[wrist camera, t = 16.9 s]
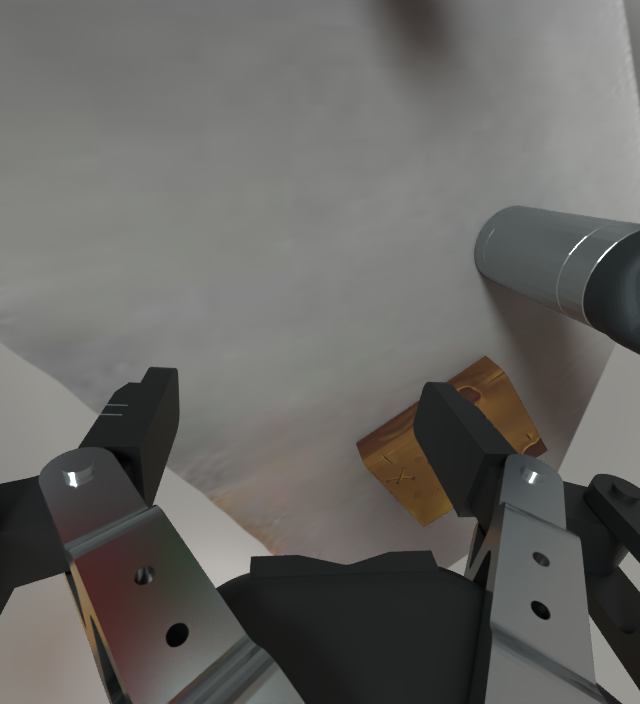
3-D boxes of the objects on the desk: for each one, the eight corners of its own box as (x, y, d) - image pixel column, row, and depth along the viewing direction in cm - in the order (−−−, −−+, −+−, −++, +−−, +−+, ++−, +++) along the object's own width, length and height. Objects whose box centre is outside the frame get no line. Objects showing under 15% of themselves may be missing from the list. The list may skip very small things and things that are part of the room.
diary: (481, 352, 54) (505, 371, 49) (523, 427, 63) (548, 450, 58) (354, 439, 57) (364, 466, 52) (410, 500, 66) (424, 527, 61)
